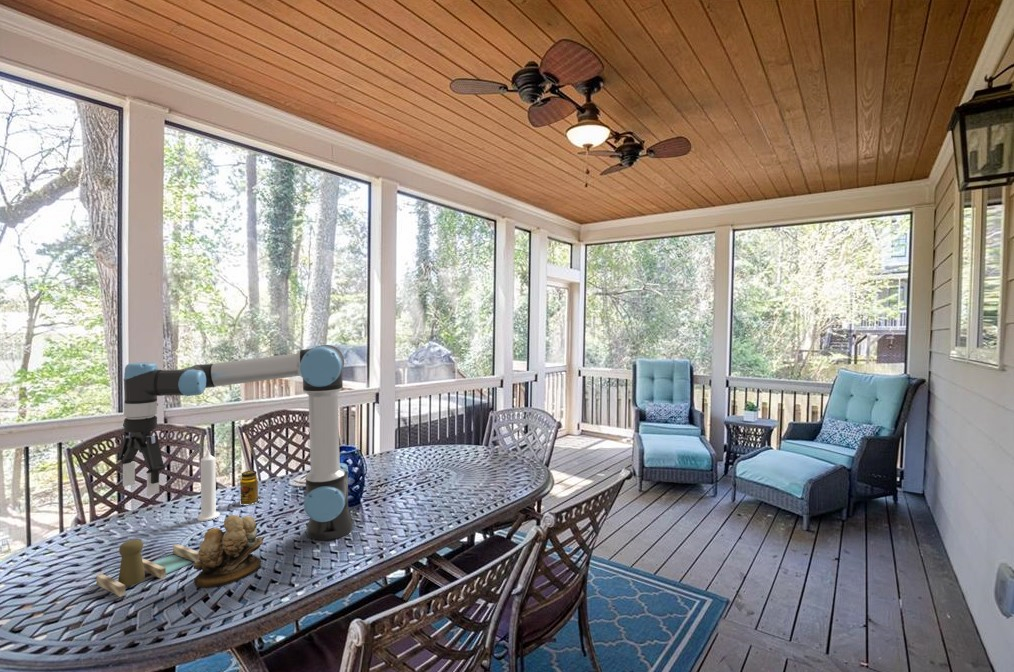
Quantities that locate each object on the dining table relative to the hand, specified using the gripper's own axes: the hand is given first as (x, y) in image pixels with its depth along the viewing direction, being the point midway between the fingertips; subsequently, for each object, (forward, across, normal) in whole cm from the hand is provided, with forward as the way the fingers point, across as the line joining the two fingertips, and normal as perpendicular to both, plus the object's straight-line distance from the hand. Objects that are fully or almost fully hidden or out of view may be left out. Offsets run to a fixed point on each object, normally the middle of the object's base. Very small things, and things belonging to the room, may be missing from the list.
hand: (140, 489), depth 136 cm
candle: (+23, +19, -30) cm, 42 cm away
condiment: (+23, +21, -47) cm, 56 cm away
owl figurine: (+23, -25, -12) cm, 36 cm away
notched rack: (+23, -5, -5) cm, 24 cm away
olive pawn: (+23, -5, +4) cm, 24 cm away
